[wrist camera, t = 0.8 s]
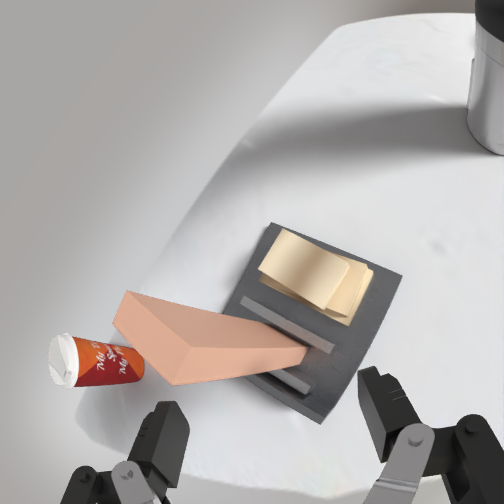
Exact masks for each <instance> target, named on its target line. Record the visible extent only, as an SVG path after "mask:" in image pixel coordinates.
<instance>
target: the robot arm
mask: <svg viewBox="0 0 504 504" xmlns="http://www.w3.org/2000/svg"><path fill="white" fill-rule="evenodd" d="M475 16H476V44H475V58H474V59H473V60H472V66H471V77H470V87H469V95H468V102H467V109H468V115H467V124H468V127H469V130H470V132H471V133H472V135H473V136H474V138H475V139H476V140H477V141H478V142H479V143H480V144H481V145H482V146H484V147H485V148H487V149H488V150H490V151H492V152H494V153H496V154H500V155H504V0H476V1H475ZM357 376H358V399H359V403H360V407H361V410H362V412H363V415H364V418H365V420H366V423H367V426H368V429H369V431H370V434H371V437H372V440H373V442H374V445H375V448H376V451H377V454H378V457H379V460H380V463H384V462H387V463H386V465H385V467H384V469H383V471H382V473H381V475H380V477H379V479H378V480H376V482H375V483H374V485H373V487H372V488H371V490H370V492H369V494H368V496H367V497H366V499H365V501H364V503H363V504H411V503H412V501H413V498H414V496H415V494H416V491H417V489H418V485H419V482H420V479H421V477H427V476H433V475H439V474H441V476H442V479H443V482H444V485H445V487H446V490H447V493H448V496H449V499H450V502H451V504H504V450H503V449H502V447H501V445H500V443H499V441H498V440H497V438H496V436H495V434H494V433H493V431H492V429H491V428H490V426H489V424H488V423H487V421H486V420H485V418H483V417H482V416H480V415H477V414H470V415H467V416H464V417H463V418H461V419H460V420H459V421H458V423H457V425H456V426H451V427H445V428H438V429H437V428H431V427H429V426H428V425H425V424H423V423H422V422H421V421H420V419H419V417H418V415H417V413H416V412H415V410H414V408H413V406H412V404H411V403H410V401H409V399H408V397H407V396H406V394H405V392H404V390H402V387H401V385H400V383H399V382H398V380H397V379H396V378H395V377H393V376H392V375H390V374H389V373H388V374H385V375H382V376H380V374H379V372H378V370H377V368H376V367H375V366H372V367H369V368H365V369H362V370H358V373H357ZM189 433H190V428H189V424H188V421H187V419H186V418H185V416H184V414H183V413H182V411H181V409H180V407H179V406H178V404H177V403H176V402H175V401H160V402H158V403H157V405H156V408H155V410H154V412H150V413H149V414H148V415H147V416H146V417H145V419H144V420H143V422H142V424H141V427H140V430H139V432H138V434H137V435H138V436H137V437H136V439H135V442H134V444H133V447H132V449H131V452H130V454H129V457H128V459H127V461H123V462H120V463H119V464H117V465H116V466H115V467H114V468H113V470H112V471H106V472H96V471H95V470H94V469H93V468H92V467H90V466H81V467H79V468H77V469H76V470H75V471H74V473H73V474H72V477H71V479H70V481H69V484H68V486H67V489H66V491H65V493H64V496H63V498H62V501H61V503H60V504H96V503H97V504H173V502H172V501H171V499H170V498H169V496H168V495H167V493H166V491H167V488H177V484H178V479H179V475H180V471H181V467H182V463H183V458H184V454H185V450H186V446H187V441H188V437H189Z"/></svg>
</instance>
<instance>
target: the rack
mask: <svg viewBox="0 0 504 504" xmlns="http://www.w3.org/2000/svg"><path fill="white" fill-rule="evenodd" d="M282 229H285V230H287V231H289V232H291V233H293V234H295V235H297V236H299V237H301V238H303V239H305V240H307V241H309V242H310V243H312V244H314V245H316V246H318V247H320V248H322V249H324V250H326V251H329V252H332V253H335V254H338V255H341V256H344V257H347V258H350V259H353V260H355V261H358V262H361V263H364V264H367V267H368V269H370V270H372V271H373V277H372V279H371V281H370V283H369V286H368V288H367V290H366V292H365V294H364V296H363V298H362V301H361V303H360V305H359V307H358V309H357V311H356V313H355V315H354V317H353V319H352V321H351V323H350V325H349V326H347V325H345V324H342V323H340V322H338V321H336V320H334V319H332V318H330V317H328V316H326V315H324V314H322V313H320V312H318V311H316V310H314V309H312V308H311V307H309V306H307V305H305V304H303V303H301V302H299V301H297V300H295V299H293V298H291V297H289V296H287V295H285V294H283V293H281V292H279V291H277V290H275V289H273V288H271V287H269V286H267V285H266V284H264V283H262V282H260V281H259V279H260V277H261V275H262V273H263V272H262V271H260V270H259V269H258V268H259V266H260V265H261V263H262V261H263V260H264V258H265V257H266V255H267V253H268V252H269V250H270V248H271V247H272V245H273V244H274V242H275V240H276V239H277V237H278V235H279V234H280V232H281V231H282ZM401 279H402V275H400V274H397V273H395V272H393V271H391V270H388V269H386V268H384V267H381V266H379V265H377V264H374V263H372V262H369V261H367V260H365V259H362V258H360V257H357V256H355V255H353V254H350V253H348V252H345V251H343V250H341V249H338V248H336V247H333V246H331V245H328V244H326V243H323V242H321V241H318V240H316V239H313V238H311V237H308V236H306V235H303V234H301V233H298V232H296V231H293V230H290V229H288V228H285V227H283V226H280V225H278V224H275V223H272V222H271V223H270V225H269V227H268V229H267V231H266V233H265V235H264V237H263V239H262V241H261V242H260V244H259V246H258V248H257V250H256V252H255V254H254V256H253V258H252V260H251V262H250V264H249V266H248V267H247V269H246V271H245V273H244V275H243V277H242V279H241V281H240V283H239V285H238V287H237V289H236V290H235V292H234V294H233V296H232V298H231V300H230V302H229V304H228V306H227V308H226V310H225V312H224V313H223V314H224V315H228V316H233V317H238V318H243V319H247V320H252V321H258V322H263V323H268V324H270V325H271V326H273V327H275V328H277V329H278V330H280V331H282V332H284V333H285V334H287V335H289V336H291V337H292V338H294V339H296V340H298V341H300V342H301V343H303V344H305V345H307V346H309V348H308V350H307V352H306V354H305V355H304V357H303V359H302V361H301V362H300V364H299V365H295V366H290V367H286V368H281V369H277V370H272V371H267V372H262V373H257V374H251V375H246V376H243V377H245V378H246V379H248V380H249V381H251V382H252V383H254V384H255V385H257V386H258V387H260V388H261V389H263V390H264V391H266V392H267V393H269V394H270V395H272V396H273V397H275V398H276V399H278V400H280V401H281V402H283V403H284V404H286V405H288V406H289V407H291V408H293V409H294V410H296V411H297V412H299V413H301V414H302V415H304V416H306V417H308V418H309V419H311V420H313V421H315V422H316V423H318V424H320V425H321V424H322V422H323V421H324V420H325V419H326V418H327V416H328V415H329V414H330V413H331V411H332V410H333V409H334V407H335V406H336V404H337V403H338V401H339V399H340V398H341V396H342V395H343V393H344V391H345V390H346V388H347V386H348V385H349V383H350V381H351V380H352V378H353V376H354V375H355V373H356V371H357V369H358V368H359V366H360V364H361V362H362V361H363V359H364V357H365V355H366V353H367V351H368V349H369V348H370V346H371V344H372V342H373V340H374V338H375V336H376V334H377V332H378V330H379V328H380V326H381V324H382V322H383V320H384V318H385V315H386V313H387V311H388V309H389V307H390V305H391V302H392V300H393V298H394V296H395V293H396V291H397V289H398V286H399V284H400V282H401Z"/></svg>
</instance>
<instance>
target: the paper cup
mask: <svg viewBox="0 0 504 504" xmlns="http://www.w3.org/2000/svg"><path fill="white" fill-rule="evenodd" d="M48 360H49V369H50V373H51V376H52V378H53V380H54V382H55V383H56V384H57V385H59V386H63V387H64V388H65V389H71V388H73V387H84V386H102V385H114V384H125V383H133V382H137V381H139V380H140V379H141V378H142V376H143V374H144V360H143V357H142V356H141V355H140V354H139V353H138V352H137V351H136V350H135V349H133V348H128V347H122V346H117V345H111V344H106V343H101V342H96V341H91V340H86V339H81V338H77V337H72V336H71V335H70V334H68V333H63V334H61V335H57V336H55V337H54V338H53V340H52V341H51V344H50V347H49V355H48Z"/></svg>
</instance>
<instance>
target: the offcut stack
mask: <svg viewBox="0 0 504 504" xmlns="http://www.w3.org/2000/svg"><path fill="white" fill-rule="evenodd" d="M258 269H259V270H260V271H262V272H263V273H262V275H261V277H260V279H259V281H260V282H262V283H264V284H266V285H267V286H269V287H271V288H273V289H275V290H277V291H279V292H281V293H283V294H285V295H287V296H289V297H291V298H293V299H295V300H297V301H299V302H301V303H303V304H305V305H307V306H309V307H311V308H312V309H314V310H316V311H318V312H320V313H322V314H324V315H326V316H328V317H330V318H332V319H334V320H336V321H338V322H340V323H342V324H345V325H347V326H349V325H350V323H351V321H352V319H353V317H354V315H355V313H356V311H357V309H358V307H359V305H360V303H361V301H362V298H363V296H364V294H365V292H366V290H367V288H368V286H369V283H370V281H371V279H372V277H373V271H372V270H370V269H368V267H367V264H364V263H361V262H358V261H355V260H353V259H350V258H347V257H344V256H341V255H338V254H335V253H332V252H329V251H326V250H324V249H322V248H320V247H318V246H316V245H314V244H312V243H310V242H309V241H307V240H305V239H303V238H301V237H299V236H297V235H295V234H293V233H291V232H289V231H287V230H285V229H282V231H281V232H280V234H279V235H278V237H277V239H276V240H275V242H274V244H273V245H272V247H271V248H270V250H269V252H268V253H267V255H266V257H265V258H264V260H263V261H262V263H261V265H260V266H259V268H258Z"/></svg>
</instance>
